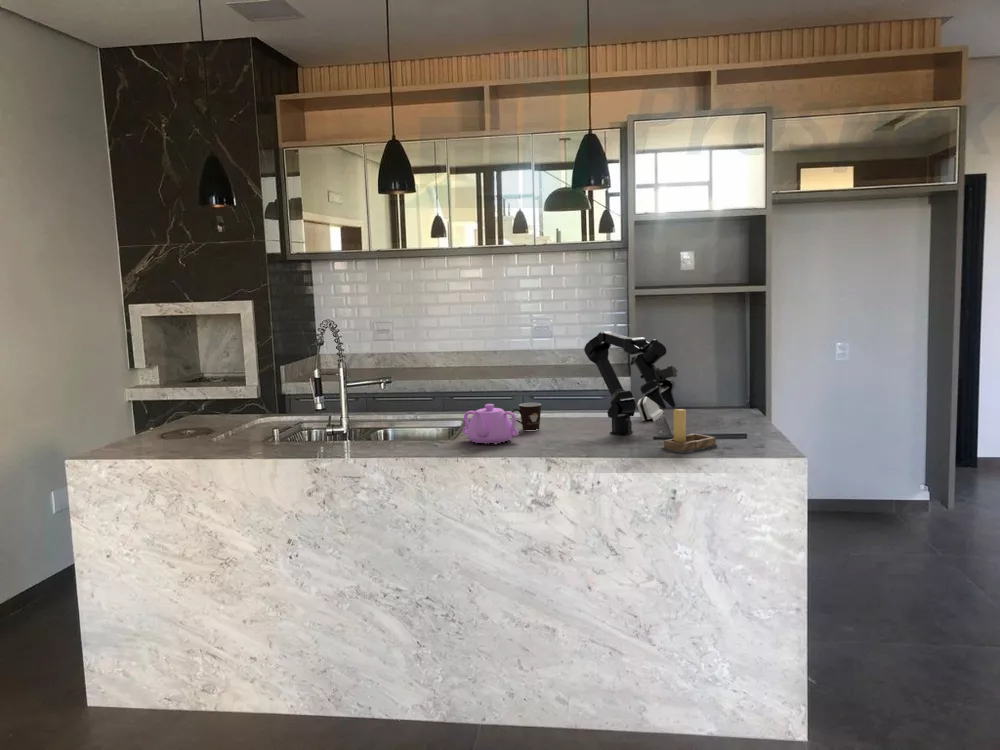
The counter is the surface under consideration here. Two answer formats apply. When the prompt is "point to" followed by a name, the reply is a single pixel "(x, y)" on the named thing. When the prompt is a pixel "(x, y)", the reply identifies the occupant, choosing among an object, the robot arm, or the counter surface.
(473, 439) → the teapot
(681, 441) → the peg
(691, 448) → the frame
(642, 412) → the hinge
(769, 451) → the counter surface
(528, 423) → the coffee mug
